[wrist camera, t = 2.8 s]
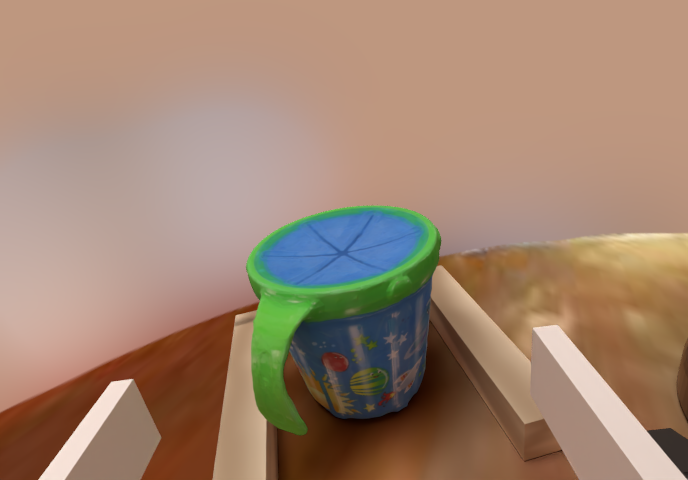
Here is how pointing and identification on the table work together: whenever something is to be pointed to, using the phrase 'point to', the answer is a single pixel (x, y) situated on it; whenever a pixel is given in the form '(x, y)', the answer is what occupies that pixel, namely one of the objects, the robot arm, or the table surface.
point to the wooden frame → (463, 341)
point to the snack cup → (343, 311)
